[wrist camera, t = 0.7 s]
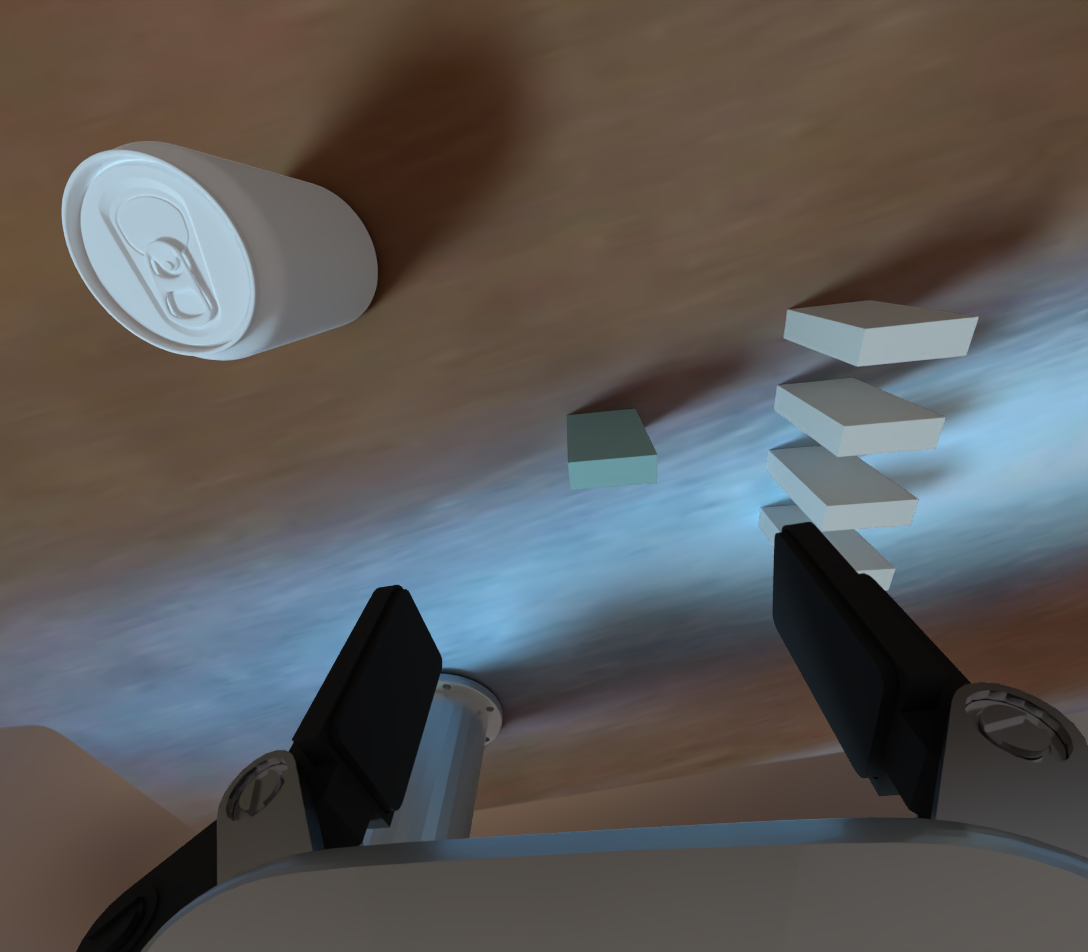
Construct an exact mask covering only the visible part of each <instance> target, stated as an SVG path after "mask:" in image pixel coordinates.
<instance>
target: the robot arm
mask: <svg viewBox="0 0 1088 952" xmlns="http://www.w3.org/2000/svg"><path fill="white" fill-rule="evenodd" d="M773 620H774V623H775V626H776V628H777V630H778V632H779V634H780V636H781V638H782V639H783V641H784V643H785V645H786V647H787V648H788V650H789V652H790V654H791V656H792V658H793V659H794V661H795V663H796V665H797V667H798V668H799V670H800V672H801V674H802V676H803V677H804V679H805V681H806V683H807V685H808V686H809V688H810V690H811V692H812V694H813V695H814V697H815V699H816V701H817V703H818V705H819V706H820V708H821V710H822V712H823V714H824V715H825V717H826V719H827V721H828V723H829V724H830V726H831V728H832V730H833V732H834V733H835V735H836V737H837V739H838V741H839V743H840V744H841V746H842V748H843V750H844V752H845V753H846V755H847V757H848V759H849V761H850V762H851V764H852V766H853V768H854V769H855V771H856V772H857V774H858V775H859V776H860V777H861V778H869V779H870V781H871V783H872V785H873V786H874V788H875V790H876V792H877V793H878V795H879V796H888V795H900V796H901V797H902V799H903V801H904V802H905V804H906V806H907V807H908V809H909V810H911V811H912V812H914V813H916V818H879V817H878V818H877V817H868V818H839V819H811V820H781V821H764V822H743V823H724V824H706V825H687V826H668V827H650V828H632V829H615V830H599V831H582V832H581V831H580V832H563V833H547V834H530V835H513V836H497V837H481V838H470V833H471V826H472V819H473V814H474V808H475V801H476V795H477V789H478V783H479V776H480V770H481V764H482V757H483V751H484V746H485V745H487V744H488V743H490V742H491V741H492V740H494V739H495V738H496V737H497V735H498V734H499V732H500V730H501V727H502V720H503V712H502V707H501V705H500V703H499V701H498V700H497V698H496V697H495V696H494V694H492V693H491V692H490V691H489V690H488V689H487V688H485V687H484V686H482V685H481V684H479V683H477V682H475V681H473V680H470V679H468V678H465V677H461V676H458V675H452V674H443V673H441V670H442V658H441V655H440V653H439V651H438V649H437V647H436V645H435V643H434V641H433V639H432V637H431V635H430V633H429V631H428V629H427V627H426V625H425V623H424V621H423V619H422V617H421V615H420V613H419V611H418V609H417V607H416V605H415V603H414V601H413V599H412V597H411V595H410V593H409V591H408V590H407V589H403V588H402V587H401V586H400V585H393V586H386V587H380V588H377V589H376V590H375V591H374V592H373V594H372V596H371V598H370V600H369V601H368V603H367V605H366V607H365V609H364V610H363V612H362V614H361V616H360V618H359V619H358V621H357V623H356V625H355V627H354V628H353V630H352V632H351V634H350V636H349V637H348V639H347V641H346V643H345V645H344V646H343V648H342V650H341V652H340V654H339V655H338V657H337V659H336V661H335V663H334V665H333V666H332V668H331V670H330V672H329V674H328V675H327V677H326V679H325V681H324V683H323V684H322V686H321V688H320V690H319V692H318V693H317V695H316V697H315V699H314V701H313V702H312V704H311V706H310V708H309V710H308V711H307V713H306V715H305V717H304V719H303V720H302V722H301V724H300V726H299V728H298V729H297V731H296V733H295V735H294V737H293V738H292V740H293V742H294V743H293V745H292V747H291V748H290V750H289V752H288V751H286V750H275V751H272V752H269V753H266V754H264V755H263V756H261V757H259V758H257V759H256V760H254V761H253V762H252V763H250V764H249V765H248V766H247V767H246V768H244V769H243V770H242V771H241V772H240V773H239V774H238V776H237V777H236V778H235V779H234V780H233V781H232V783H231V784H230V785H229V787H228V788H227V790H226V791H225V793H224V795H223V797H222V799H221V802H220V804H219V807H218V813H217V820H215V821H214V822H213V823H212V824H210V825H209V826H208V827H206V828H205V829H204V830H203V831H201V832H200V833H199V834H198V835H196V836H195V837H194V838H192V839H191V840H190V841H189V842H187V843H186V844H185V845H184V846H182V847H181V848H180V849H179V850H178V851H176V852H175V853H174V854H172V855H171V856H170V857H168V858H167V859H166V860H165V861H163V862H162V863H161V864H159V866H157V867H156V868H154V869H153V870H152V871H151V872H149V873H148V874H147V875H145V876H144V877H143V878H142V879H140V880H139V881H138V882H137V883H135V884H134V885H133V886H132V887H130V888H129V889H128V890H127V891H125V892H124V893H123V894H122V895H121V896H120V897H118V898H117V899H116V900H115V901H114V902H113V903H112V904H111V905H109V907H108V908H107V909H106V910H105V911H104V912H103V913H102V914H101V916H100V917H99V918H98V919H97V920H96V921H95V923H94V924H93V925H92V927H91V928H90V930H89V931H88V933H87V934H86V936H85V937H84V938H83V940H82V942H81V944H80V945H79V947H78V949H77V952H1088V745H1087V742H1086V739H1085V737H1084V736H1083V735H1082V734H1081V732H1080V731H1079V730H1078V728H1077V727H1076V726H1075V725H1074V723H1073V722H1071V721H1070V720H1069V719H1068V718H1067V717H1066V716H1064V715H1063V714H1062V713H1061V712H1060V711H1059V710H1057V709H1056V708H1054V707H1053V706H1051V705H1049V704H1048V703H1046V702H1044V701H1043V700H1041V699H1039V698H1038V697H1036V696H1033V695H1031V694H1029V693H1026V692H1024V691H1022V690H1019V689H1017V688H1013V687H1010V686H1006V685H1002V684H998V683H987V682H977V683H970V682H969V681H968V680H967V678H966V677H965V676H964V675H963V674H962V673H961V672H960V671H959V670H958V669H957V668H956V667H955V666H954V664H953V663H952V662H951V661H950V660H949V659H948V658H947V657H946V656H945V655H944V654H943V653H942V652H941V650H940V649H939V648H938V647H937V646H936V645H935V644H934V643H933V642H932V641H931V640H930V639H929V638H928V636H927V635H926V634H925V633H924V632H923V631H922V630H921V629H920V628H919V627H918V626H917V625H916V624H915V622H914V621H913V620H912V619H911V618H910V617H909V616H908V615H907V614H906V613H905V612H904V611H903V610H902V608H901V607H900V606H899V605H898V604H897V603H896V602H895V601H894V600H893V599H892V598H891V597H890V596H889V594H888V593H887V592H886V591H885V590H884V589H883V588H882V587H881V586H880V585H879V584H878V583H877V582H876V581H875V580H874V579H873V578H872V577H871V576H870V575H867V574H865V573H861V574H858V573H857V571H856V570H855V569H854V568H853V567H852V566H851V565H850V564H849V562H848V561H847V560H846V559H845V558H844V557H843V556H842V555H841V554H840V552H839V551H838V550H837V549H836V548H835V547H834V546H833V545H832V544H831V542H830V541H829V540H828V539H827V538H826V537H825V536H824V535H823V533H822V532H821V531H820V530H819V529H818V528H817V527H816V526H815V525H814V524H813V523H812V522H803V523H797V524H790V525H785V526H783V527H782V531H781V532H779V533H776V534H775V538H774V576H773Z"/></svg>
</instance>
